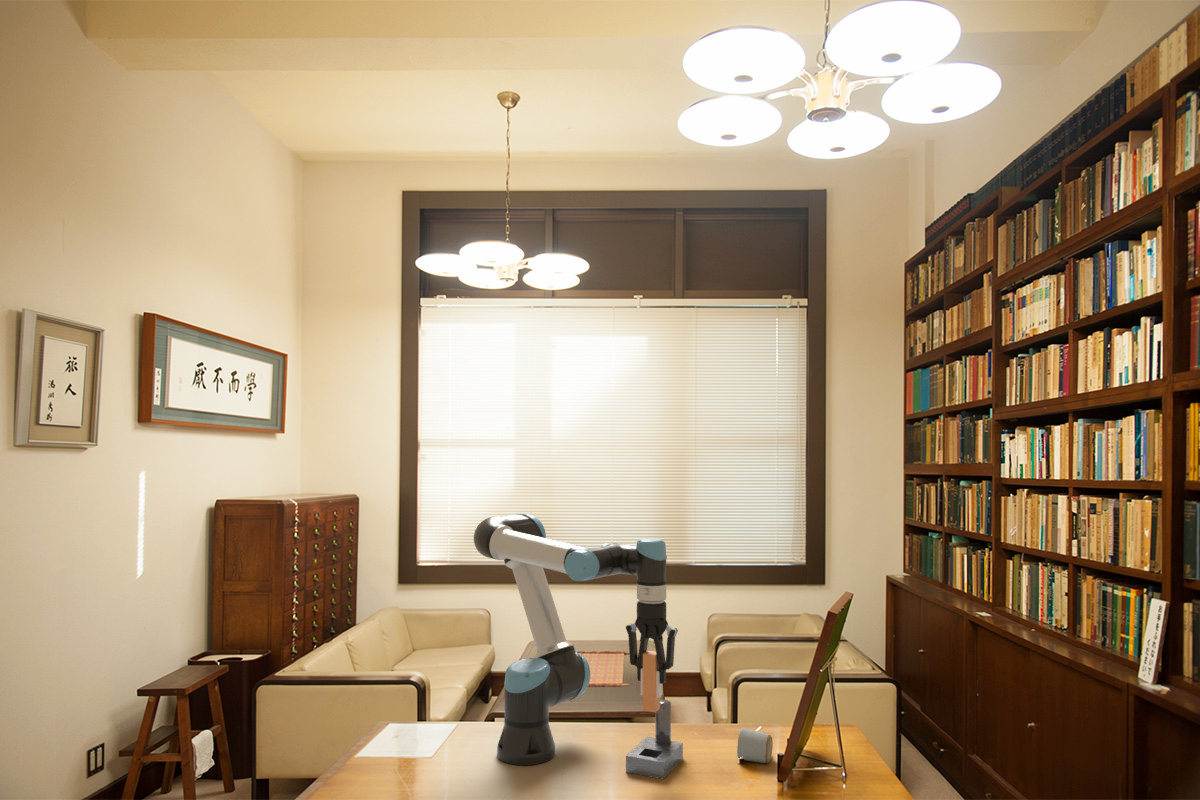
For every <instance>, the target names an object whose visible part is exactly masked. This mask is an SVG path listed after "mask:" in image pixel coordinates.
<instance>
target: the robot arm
mask: <svg viewBox="0 0 1200 800" xmlns="http://www.w3.org/2000/svg"><path fill="white" fill-rule="evenodd" d="M546 533H547V532H546V529H545V526H544V525H543V523H542V522H541V521H540V519H538V518H537V517H536V516H535V515H532V514H527V513H526V514H525V513H516V514H511V515H510V514H509V515H500V516H497V515H496V516H490V517H488V518H485V519H484V520H482V521H481V522H480V523H478V525H477V526H476V527H475V530H474V533H473V543H474V546H475V549H476V550H477V552H478V553H479V554H481V555H482V556H483V557H486V558H489V559H492V560H497V561H503V562H504V564H505V567H506V568H509V569H511V570H512V573H513V577H514V580H515V583H516V587H517V589H518V593H519V595H520V598H521V599H520V600H521V602H522V606H523V609H524V613H525V616H526V619H527V621H528V625H529V628H530V632H531V634H532V638H533V642H534V644H535V648H536V653H535V656H534V657H531V658H530V657H529V658H527V659H526V658H523V659H519V660H516V661H515V662H512V663H511V664H509V666H508V667H507V668H506V670H505V676H504V682H503V683H504V684H503V686H504V687H503V688H504V721H503V724H504V725H503V728H502V731H501V733H500V736H499V740H498V743H497V746H496V747H497V748H496V749H497V750H496V751H497V752H496V756H497V759H499V760H500V761H502V762H504V763H506V764H509V765H515V766H533V765H539V764H542V763H543V764H544V763H546V762H548V761H550V760H551V759H553V758H554V757H555V755H556V743H555V741H554V737H553V733H552V730H551V727H550V726H551V725H550V723H549V722H550V721H549V719H550V717H549V715H550V714H549V713H550V708H551V707H554V706H557V705H559V704H562V703H565V702H568V701H572V700H575V699H576V698H578V697H580V696H581V695H583V694H584V693H585V692H586V691H587V689H588V687H589V684H590V680H591V668H590V667H591V666H590V665H589V662H588V660H587V658H586V657H584V656H583V654H582V653H578V652H576V649H575V646H574V644H573V643H571V642H569V641H568V640H566V638H567V637H566V636H565V633H564V629H563V626H562V623H561V620H560V616H559V614H558V609H557V608H556V604H555V601H554V598H553V596H552V592H551V588H550V586H549V582H548V579H547V577H546V573H545V570H546V569H548V570H550V571H553V572H557V573H562V574H566V575H567V576H568V577H569V578H570V579H571V580H573V581H576V582H587V581H591V580H595V579H600V578H603V577H609V576H611V577H612V576H614V575H629V576H630V575H631V576H636V599H637V600H638V601H637V602H636V618H635V619H636V620H635V621H634V623H629V624H627V625H626V626H625V630H626V632H627V635H628V647H629V648H628V649H629V650H628V651H629V653H628V654H629V664H630V665H631V666H635V667H636V669H637V670H636V672H637V675H636V676H637V679H636V680H637V681H639V682H640V696H641V697H643V653H645V652H646V651H648V644H649V640H650V639H652V640H653V643H654V645H655V646H654V648H655V651H656V654H657V661H658V667H659V669H658V670H657V671H656V698H659V697H660V698H661V697H662V696H663V692H664V691H663V688H664V687H663V684H665V683H666V681H667V670H671V668H673V667H674V660H675V646H676V645H675V644H676V643H675V641H676V636H677V634H678V628H676V627H674V628H673V627H672V626H670V625H669V622H668V620H667V602H666V601H665V600H667V546H666V542H665V541H664V540H663V539H660V538H639V539H638V540H637V541H636V545H630V544H629V545H628V544H623V543H622V544H621V543H617V542H612V543H609V542H608V543H603V544H601V546H599V547H591V548H590V547H585V546H580V545H577V544H571V543H568V542H564V541H559V540H554V539H550V538H547V536H546V535H547V534H546ZM544 569H545V570H544ZM637 630H638V631H639V633H640V639H639V642H640V643H639V649H638V642H637V641H638V640H637V638H638V637H637ZM665 632H666V635H667V640H666V651H665V648H664V637H663V635H664V633H665ZM665 652H666V654H665Z"/></svg>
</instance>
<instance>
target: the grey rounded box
mask: <svg viewBox="0 0 1200 800" xmlns="http://www.w3.org/2000/svg"><path fill="white" fill-rule="evenodd" d="M773 744H774V743H773V737H772V735H771V734H769V733H766V732H763V731H758V730H754V729H750V728H746V727H741V728H740V730H739V732H738V738H737V746H736V747H737V749H736V752H737V753H736V755H737V759H738V758H740V757H742V756H743V759H744V760H743V761H747V762H754V763H760V764H767V763H769V762H771V760H772V756H773V755H772V754H773Z"/></svg>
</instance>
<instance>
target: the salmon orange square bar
mask: <svg viewBox="0 0 1200 800" xmlns="http://www.w3.org/2000/svg"><path fill="white" fill-rule="evenodd" d="M658 669H659V667H658V661H657V654H656V650H647V651H646V652H645V653H643V696H642V711H643V712H644V711H645V712H651V713H655V712H657V711H658V710H659V709H660V700H661V697H659V698H656V671H657V670H658Z"/></svg>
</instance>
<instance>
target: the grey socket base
mask: <svg viewBox="0 0 1200 800" xmlns="http://www.w3.org/2000/svg"><path fill="white" fill-rule="evenodd" d="M671 707H672V702H671V701H670V700H668V699H660V709H659V710H658V711H657V712H654V713H655V716H654V717H655V724H654V725H655V729H654V730H655V731H654V732H655V733H654V734H655V735H654V737H650V736H645V738H643V739H642V740H641V741H640V742H639V743H638V744H637V745H636V746H634V748H633V749H632V750H631V751H629V752H628V753H627V754H626V755H625V773H628V774H633V775H638V774H640V775H639V776H643V775H645V777H648V776H652V777H651V778H653V777H658V778H657V779H659V778H663V779H662V780H665V779H666V778H667V777H666V776H668V775H670V773H671V772H672V771H673V770H674V769H675V768H674V767H675V766H678V764H680V762H682V760H683V759H684V757H683V754H684V753H683V752H684V749H683V748H684V747H683V746H684V744H683V743H684V742H680V741H674V740H672V739H671V738H672V733H671V732H672V731H671V729H672V728H671V727H672V723H671V719H672V713H671V712H672V708H671ZM682 758H683V759H682ZM681 759H682V760H681ZM673 768H674V769H673ZM672 769H673V770H672ZM671 770H672V771H671ZM665 777H666V778H665ZM664 778H665V779H664Z"/></svg>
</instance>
